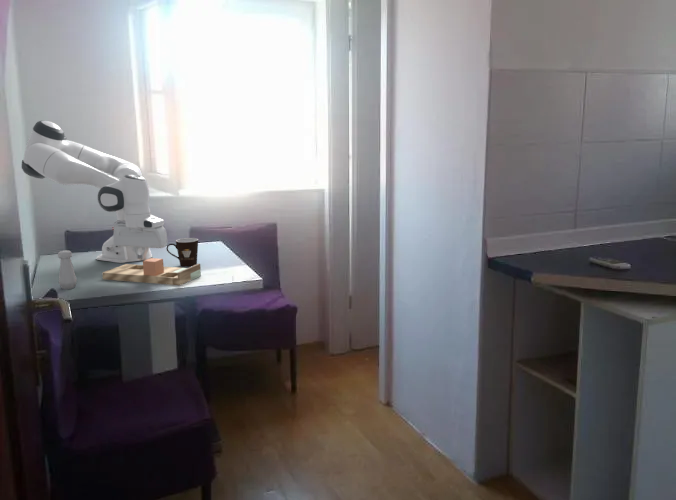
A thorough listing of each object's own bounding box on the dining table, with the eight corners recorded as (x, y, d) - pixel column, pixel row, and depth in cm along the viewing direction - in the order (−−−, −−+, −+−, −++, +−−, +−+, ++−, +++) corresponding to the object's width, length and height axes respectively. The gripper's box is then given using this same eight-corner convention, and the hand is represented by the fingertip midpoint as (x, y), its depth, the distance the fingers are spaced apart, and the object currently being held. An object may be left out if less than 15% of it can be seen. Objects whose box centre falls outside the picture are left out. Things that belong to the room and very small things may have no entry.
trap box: (102, 279, 229) (101, 267, 228) (126, 270, 242) (125, 258, 241) (180, 285, 220) (179, 272, 219) (200, 275, 233) (200, 263, 232)
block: (143, 274, 225) (142, 261, 224) (152, 271, 229) (151, 258, 228) (155, 275, 223) (154, 261, 222) (163, 272, 228) (162, 258, 227)
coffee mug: (203, 263, 252) (202, 238, 250) (192, 268, 244) (190, 242, 242) (178, 261, 256) (177, 237, 254) (166, 266, 248) (164, 241, 246)
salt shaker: (62, 285, 221) (58, 249, 218) (79, 285, 222) (75, 248, 219) (56, 290, 215) (52, 252, 213) (74, 289, 216) (70, 252, 213)
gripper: (107, 221, 224) (111, 259, 227) (158, 223, 218) (161, 262, 221) (118, 218, 230) (122, 255, 233) (168, 220, 224) (171, 258, 227)
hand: (141, 259), depth 227 cm, fingers closed
